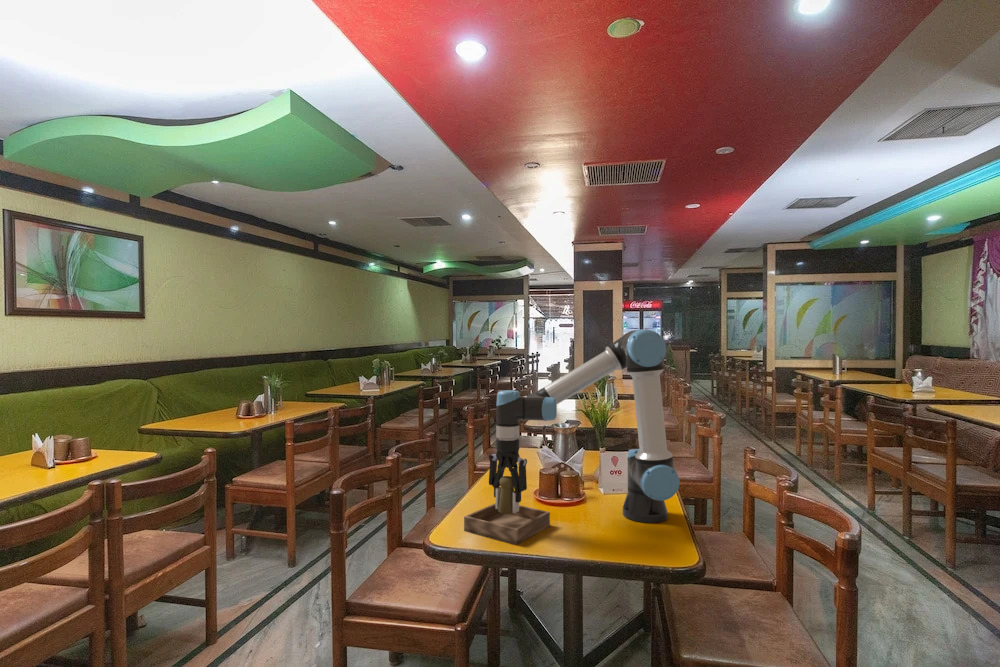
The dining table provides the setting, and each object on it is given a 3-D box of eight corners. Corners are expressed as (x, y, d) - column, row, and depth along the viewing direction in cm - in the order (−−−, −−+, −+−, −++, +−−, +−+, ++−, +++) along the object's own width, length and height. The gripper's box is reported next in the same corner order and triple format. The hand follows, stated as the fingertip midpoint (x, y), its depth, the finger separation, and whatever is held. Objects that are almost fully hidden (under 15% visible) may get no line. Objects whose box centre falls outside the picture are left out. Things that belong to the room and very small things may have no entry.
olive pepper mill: (495, 512, 165) (495, 478, 165) (501, 506, 170) (502, 473, 170) (512, 514, 162) (513, 479, 163) (519, 509, 168) (519, 475, 168)
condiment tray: (549, 525, 169) (549, 512, 169) (516, 545, 152) (516, 530, 152) (500, 513, 180) (500, 501, 180) (464, 530, 164) (464, 516, 164)
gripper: (538, 439, 164) (538, 512, 164) (491, 433, 175) (490, 501, 175) (526, 443, 158) (525, 519, 158) (477, 436, 169) (477, 507, 169)
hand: (507, 509), depth 166 cm, fingers closed on olive pepper mill, 6 cm apart
